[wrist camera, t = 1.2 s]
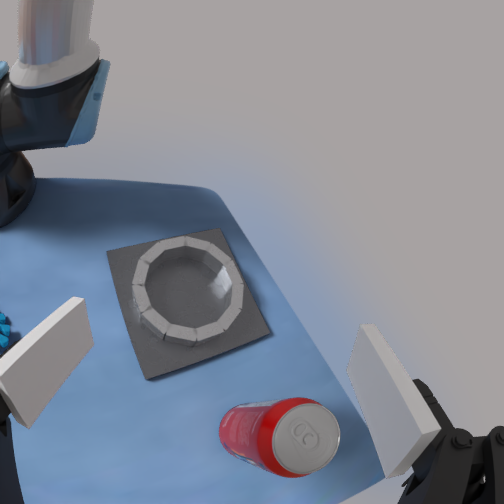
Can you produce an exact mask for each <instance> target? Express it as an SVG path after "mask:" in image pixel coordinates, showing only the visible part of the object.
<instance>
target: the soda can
mask: <svg viewBox="0 0 504 504" xmlns="http://www.w3.org/2000/svg"><path fill="white" fill-rule="evenodd" d="M219 437H220V441H221V443H222V445H223V447H224V448H225V449H226V450H227V451H228V452H229V453H230V454H231V455H233V456H234V457H236V458H238V459H241V460H243V461H245V462H247V463H249V464H252V465H254V466H256V467H259V468H261V469H263V470H266V471H268V472H271V473H273V474H276V475H279V476H282V477H287V478H297V477H303V476H306V475H309V474H311V473H313V472H316V471H318V470H320V469H322V468H323V467H325V466H326V465H327V464H328V463H329V462H330V461H331V460H332V458H333V457H334V455H335V454H336V452H337V449H338V446H339V443H340V428H339V424H338V422H337V420H336V418H335V416H334V415H333V414H332V412H331V411H329V410H328V409H327V408H325V407H323V406H322V405H321V404H320V403H318V402H316V401H314V400H311V399H308V398H300V397H298V398H288V399H281V400H273V401H264V402H254V403H245V404H241V405H238V406H236V407H234V408H232V409H231V410H229V411H228V412H227V413H226V414H225V416H224V417H223V419H222V421H221V423H220V427H219Z"/></svg>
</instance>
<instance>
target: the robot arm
mask: <svg viewBox="0 0 504 504" xmlns="http://www.w3.org/2000/svg"><path fill="white" fill-rule="evenodd" d="M93 3H94V0H18V47H19V58H18V60H17V61H16V63H15V64H14V65H13V67H12V68H11V71H10V72H8V70H9V66H8V64H7V62H5V61H4V62H2V61H0V227H3V226H5V225H6V224H8V223H10V222H11V221H12V220H14V219H15V218H16V217H17V216H18V215H19V214H20V213H21V212H22V211H23V210H24V209H25V208H26V206H27V205H28V203H29V202H30V200H31V198H32V196H33V193H34V190H35V183H36V182H35V176H34V173H33V169H32V166H31V164H30V163H29V161H28V160H27V159H26V157H25V156H24V154H23V153H22V151H25V150H35V149H45V148H57V147H68V146H70V145H78V144H85V143H87V142H88V141H90V140H91V139H92V138H93V136H94V134H95V131H96V126H97V121H98V116H99V111H100V106H101V101H102V97H103V92H104V88H105V84H106V80H107V76H108V72H109V68H110V62H109V61H106V60H103V59H101V60H99V46H98V44H97V43H96V42H94V41H93V40H91V39H89V30H90V21H91V15H92V9H93ZM93 345H94V342H93V338H92V333H91V329H90V324H89V320H88V315H87V309H86V304H85V299H84V298H78V297H72V298H71V299H69V300H68V301H67V302H65V303H64V304H63V305H62V306H60V307H59V308H58V309H57V310H56V311H54V312H53V313H52V314H51V315H49V316H48V317H47V318H46V319H45V320H43V321H42V322H41V323H40V324H39V325H38V326H36V327H35V328H34V329H33V330H32V331H31V332H29V333H28V334H27V335H26V336H25V337H24V338H22V339H20V340H18V341H16V342H14V343H13V344H12V345H11V346H10V347H9V348H8V350H7V349H6V350H5V351H4V352H3V354H1V355H0V504H24V500H23V496H22V492H21V488H20V484H19V479H18V474H17V469H16V463H15V456H14V449H13V441H12V430H11V421H10V418H9V417H8V415H9V414H10V413H12V415H13V416H14V418H15V419H16V421H17V422H18V423H20V424H21V425H23V426H25V427H26V428H28V429H30V428H31V426H32V425H33V423H34V422H35V420H36V419H37V418H38V416H39V415H40V413H41V412H42V411H43V409H44V408H45V407H46V405H47V404H48V403H49V401H50V400H51V399H52V397H53V396H54V395H55V393H56V392H57V391H58V389H59V388H60V387H61V385H62V384H63V383H64V382H65V380H66V379H67V378H68V376H69V375H70V374H71V373H72V371H73V370H74V369H75V368H76V366H77V365H78V364H79V363H80V361H81V360H82V359H83V358H84V356H85V355H86V354H87V353H88V352H89V350H90V349H91V348H92V347H93ZM346 371H347V374H348V376H349V379H350V381H351V384H352V386H353V389H354V391H355V394H356V397H357V399H358V402H359V404H360V407H361V410H362V412H363V415H364V418H365V420H366V423H367V426H368V429H369V431H370V434H371V437H372V440H373V442H374V445H375V448H376V451H377V454H378V457H379V460H380V462H381V465H382V468H383V471H384V474H385V477H386V479H387V478H391V477H395V476H399V475H402V474H404V473H405V472H406V471H407V470H408V469H409V468H410V467H411V466H412V468H413V470H414V473H413V474H412V475H411V476H410V477H409V478H408V479H407V480H406V481H405V482H404V483H403V484H402V487H404V486H405V485H406V484H407V486H406V488H405V490H404V492H403V494H402V496H401V498H400V500H399V502H398V504H504V427H503V426H497V427H495V428H493V429H492V430H491V432H490V433H489V434H488V435H487V436H482V437H473V436H472V435H471V434H470V433H469V432H468V431H466V430H464V429H459V428H456V429H455V428H454V427H453V425H452V423H451V422H450V420H449V419H448V417H447V415H446V414H445V412H444V411H443V409H442V407H441V406H440V404H439V403H438V401H437V400H436V398H435V397H433V393H432V392H431V390H430V389H429V387H428V386H427V385H426V384H424V383H423V382H422V381H421V380H419V379H415V380H412V379H411V378H410V376H409V375H408V373H407V371H406V370H405V368H404V367H403V365H402V364H401V362H400V361H399V359H398V358H397V356H396V355H395V353H394V352H393V350H392V349H391V347H390V346H389V344H388V343H387V341H386V340H385V338H384V337H383V336H382V334H381V332H380V331H379V330H378V328H377V327H376V325H375V324H360V326H359V330H358V334H357V337H356V341H355V344H354V348H353V350H352V354H351V357H350V360H349V363H348V366H347V369H346ZM484 476H485V483H484V480H483V477H484Z"/></svg>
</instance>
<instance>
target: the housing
mask: <svg viewBox="0 0 504 504" xmlns="http://www.w3.org/2000/svg"><path fill="white" fill-rule="evenodd" d="M107 257H108V261H109V266H110V270H111V274H112V278H113V282H114V286H115V290H116V294H117V297H118V301H119V304H120V308H121V311H122V315H123V318H124V321H125V324H126V327H127V330H128V333H129V336H130V339H131V342H132V345H133V348H134V351H135V354H136V356H137V359H138V362H139V365H140V367H141V370H142V372H143V375H144V377H145V380H147V379H151V378H154V377H157V376H160V375H163V374H166V373H169V372H172V371H175V370H178V369H181V368H184V367H186V366H189V365H192V364H195V363H198V362H200V361H203V360H206V359H208V358H211V357H214V356H216V355H219V354H222V353H224V352H227V351H229V350H232V349H234V348H237V347H239V346H242V345H244V344H247V343H249V342H251V341H254V340H256V339H259V338H261V337H263V336H266V335H268V334H269V333H270V331H269V329H268V327H267V325H266V323H265V321H264V319H263V317H262V315H261V313H260V311H259V309H258V307H257V305H256V303H255V301H254V299H253V296H252V294H251V292H250V290H249V288H248V286H247V284H246V282H245V280H244V278H243V276H242V274H241V272H240V270H239V267H238V265H237V263H236V261H235V259H234V257H233V255H232V253H231V251H230V249H229V246H228V244H227V242H226V240H225V238H224V236H223V234H222V232H221V229H220V228H216V229H211V230H206V231H201V232H196V233H191V234H186V235H181V236H176V237H171V238H166V239H161V240H156V241H152V242H147V243H142V244H137V245H133V246H128V247H124V248H119V249H115V250H110V251H107Z"/></svg>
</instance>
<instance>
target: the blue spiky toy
mask: <svg viewBox="0 0 504 504" xmlns="http://www.w3.org/2000/svg"><path fill="white" fill-rule="evenodd" d="M2 324H5V316H4V314H2V313H0V331H1V332H2V333H3V334H4V335H5V336H3V335H1V334H0V346H1V347H3V348H5V347H6V346H7V345H8V344H9V339H8V338H7V337H6V336H9V334H10V326H9V325H2Z"/></svg>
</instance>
